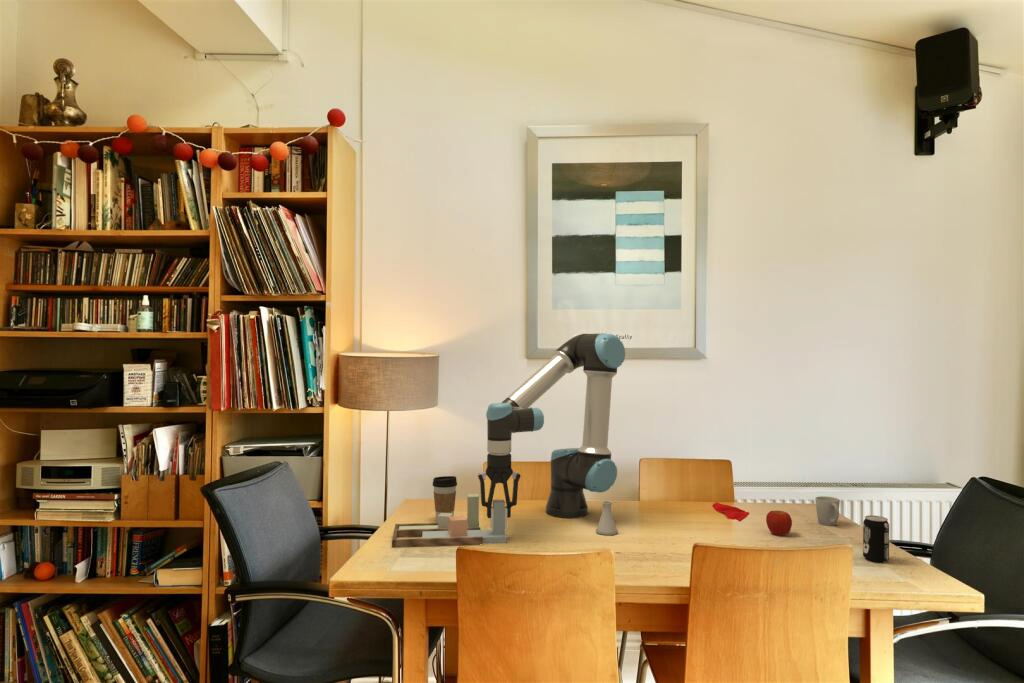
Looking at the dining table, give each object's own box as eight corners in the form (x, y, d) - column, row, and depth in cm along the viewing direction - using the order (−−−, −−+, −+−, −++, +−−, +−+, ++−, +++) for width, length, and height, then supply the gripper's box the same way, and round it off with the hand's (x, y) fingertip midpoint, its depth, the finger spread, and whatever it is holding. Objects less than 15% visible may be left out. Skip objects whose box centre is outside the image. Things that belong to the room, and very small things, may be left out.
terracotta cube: (463, 531, 213) (463, 515, 213) (467, 535, 209) (467, 519, 209) (448, 532, 212) (448, 516, 212) (451, 537, 207) (451, 520, 207)
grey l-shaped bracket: (478, 529, 222) (478, 493, 222) (479, 534, 217) (479, 497, 217) (399, 531, 219) (399, 495, 219) (398, 536, 214) (398, 498, 214)
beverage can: (858, 556, 197) (858, 515, 197) (879, 555, 198) (880, 514, 198) (872, 563, 191) (872, 521, 191) (894, 563, 191) (894, 520, 191)
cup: (831, 520, 236) (831, 496, 236) (848, 528, 226) (848, 503, 226) (810, 521, 236) (810, 496, 236) (826, 529, 226) (827, 503, 226)
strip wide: (503, 534, 216) (503, 497, 216) (506, 542, 208) (506, 504, 208) (422, 537, 213) (422, 499, 213) (422, 545, 205) (422, 506, 205)
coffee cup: (453, 524, 228) (453, 480, 228) (429, 523, 230) (429, 479, 230) (459, 518, 236) (460, 475, 236) (436, 517, 238) (436, 474, 238)
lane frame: (478, 529, 223) (478, 521, 223) (482, 545, 206) (482, 537, 206) (395, 531, 220) (395, 523, 220) (392, 548, 202) (392, 540, 202)
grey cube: (453, 525, 220) (453, 513, 220) (450, 529, 216) (450, 516, 216) (441, 525, 220) (441, 512, 220) (437, 528, 216) (437, 516, 216)
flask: (620, 530, 222) (620, 500, 222) (615, 536, 215) (616, 505, 215) (598, 528, 225) (598, 498, 225) (593, 534, 218) (593, 503, 218)
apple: (780, 538, 214) (780, 514, 214) (760, 532, 221) (760, 508, 221) (797, 535, 218) (797, 511, 218) (777, 529, 225) (777, 506, 225)
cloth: (756, 524, 233) (756, 518, 233) (714, 522, 235) (715, 516, 235) (744, 506, 259) (744, 500, 259) (706, 504, 261) (707, 498, 261)
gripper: (524, 450, 216) (523, 524, 216) (472, 451, 214) (471, 525, 215) (527, 454, 209) (526, 530, 209) (473, 455, 207) (472, 532, 207)
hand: (498, 528), depth 212 cm, fingers closed on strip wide, 3 cm apart
